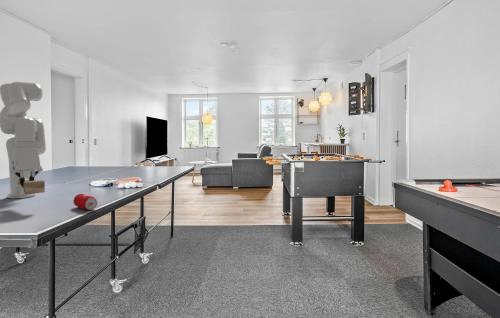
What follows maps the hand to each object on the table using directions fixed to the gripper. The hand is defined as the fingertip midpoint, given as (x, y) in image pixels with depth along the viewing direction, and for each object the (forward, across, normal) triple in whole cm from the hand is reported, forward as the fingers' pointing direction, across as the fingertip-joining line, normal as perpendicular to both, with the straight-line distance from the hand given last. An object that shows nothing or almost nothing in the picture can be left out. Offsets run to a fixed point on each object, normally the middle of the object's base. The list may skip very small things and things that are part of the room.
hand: (27, 185), depth 151 cm
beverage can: (+7, -17, +14) cm, 23 cm away
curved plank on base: (+1, 0, +1) cm, 2 cm away
